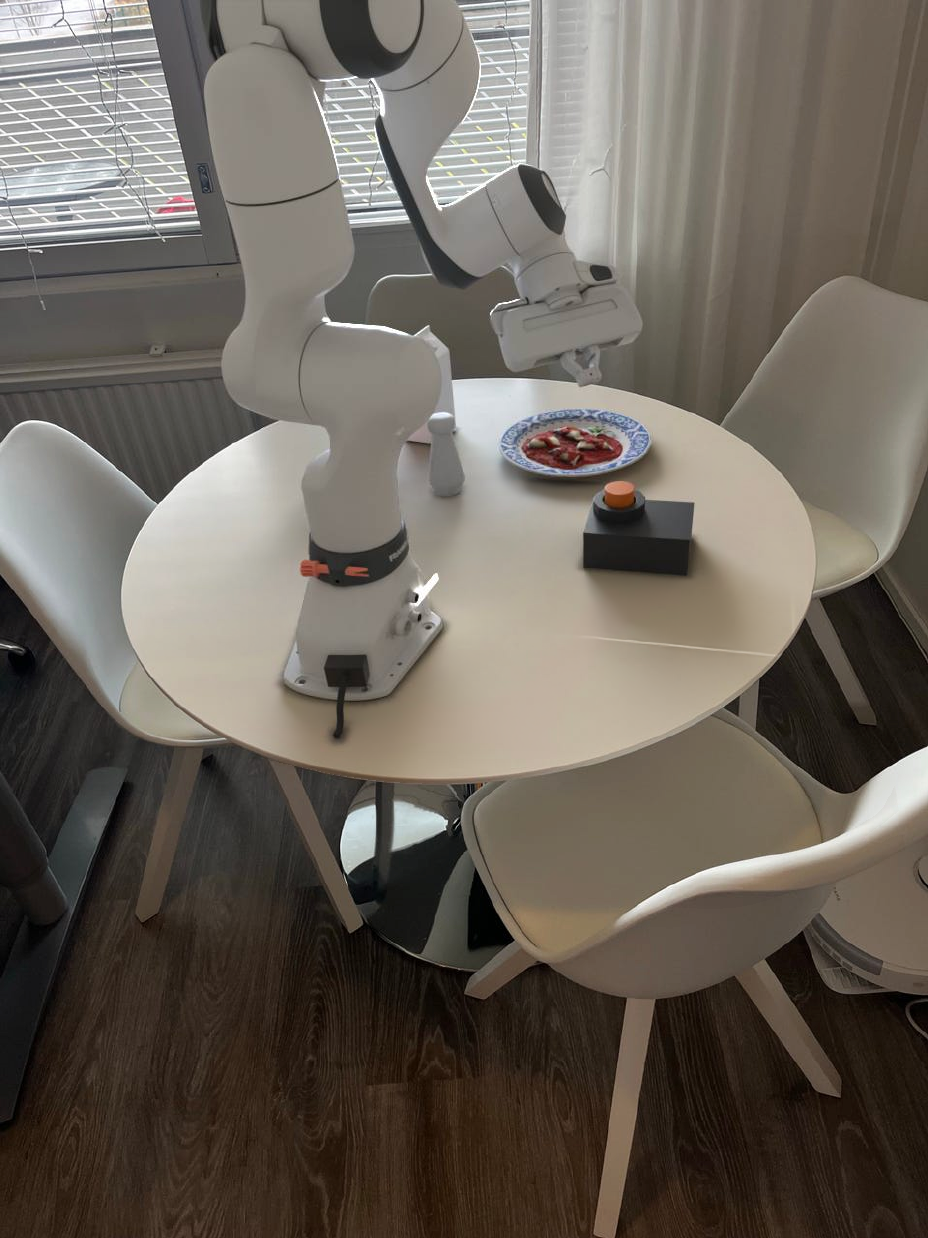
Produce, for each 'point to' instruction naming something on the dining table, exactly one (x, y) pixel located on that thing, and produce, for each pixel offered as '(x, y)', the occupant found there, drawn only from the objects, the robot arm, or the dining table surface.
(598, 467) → the ceramic plate
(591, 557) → the button base
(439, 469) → the salt shaker
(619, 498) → the orange push button
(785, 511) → the dining table surface
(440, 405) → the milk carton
